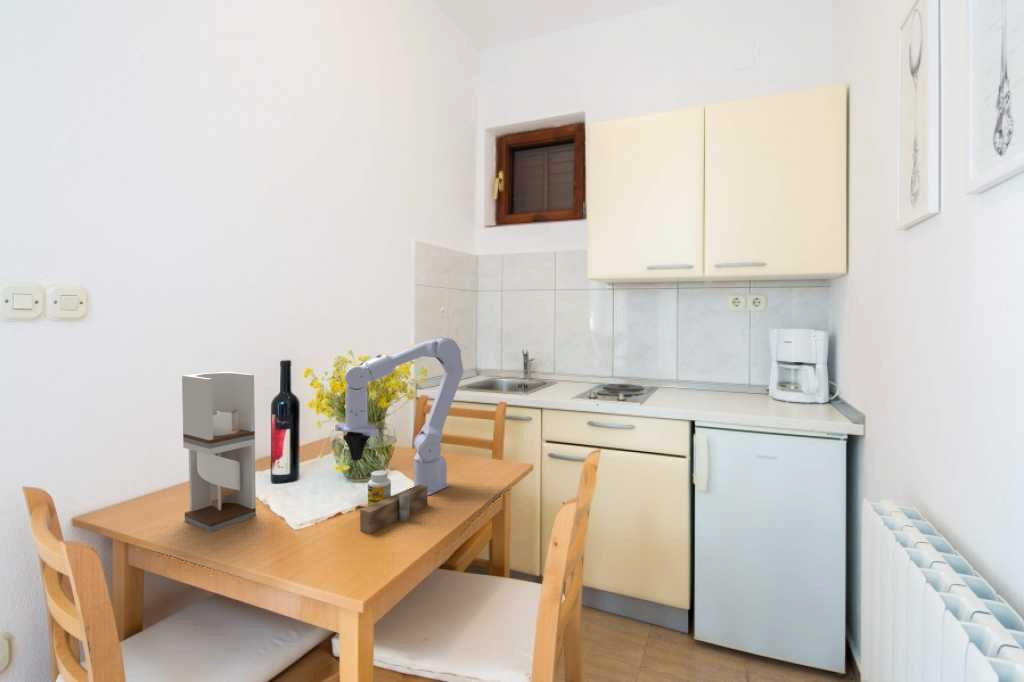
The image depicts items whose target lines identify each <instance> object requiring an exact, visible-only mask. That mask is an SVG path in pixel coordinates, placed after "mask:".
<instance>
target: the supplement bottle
mask: <svg viewBox="0 0 1024 682" xmlns="http://www.w3.org/2000/svg"><path fill="white" fill-rule="evenodd" d="M391 487H392V481H391V479H390V478H388V471H387V470H383V469H381V470H373V471H372V472H371V473H370V479H369V480H368V482H367V506H370V505H372V504H374V503H377V502H379V501H381V500H384V499H386V498H388V497H391V496H392V495H391V494H392V491H391V490H392V489H391Z"/></svg>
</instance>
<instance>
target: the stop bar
mask: <svg viewBox="0 0 1024 682" xmlns="http://www.w3.org/2000/svg"><path fill="white" fill-rule="evenodd" d="M413 486H414V485H413ZM411 487H412V486H411ZM408 488H409V489H408ZM408 488H407V489H404V490H401V492H398V493H395V494H393V495H391V497H388V498H386V499H384V500H381V501H379V502H377V503H374V504H372V505H370V506H368V505H367V506H366V507H363V508H361V509H359V513H360V514H359V516H360V518H359V520H360V521H359V524H360V525H359V526H360V528H359V529H360V532H363V533H365V534H369V535H370V534H372V533H374V532H377V531H379V530H381V529H382V528H384V527H386V526H389V525H390V524H392V523H395V522H398V520H399V522H403V523H404V522H409V521H410V515H411V514H412V513H414V512H416V511H418V510H421V509H423V508H425V507H427V506H428V496H429V495H428V486H424V485H420V484H419V485H416V486H414V487H412V488H410V487H408Z"/></svg>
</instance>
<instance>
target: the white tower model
mask: <svg viewBox="0 0 1024 682" xmlns="http://www.w3.org/2000/svg"><path fill="white" fill-rule="evenodd" d="M181 387H182V388H181V390H182V391H181V392H182V393H181V395H182V398H181V399H182V435H183V436H182V444H183V445H182V447H183V448H184V449H187V450H188V476H189V477H188V479H189V480H188V481H189V482H188V483H189V485H188V486H189V510H188V511H184V522H187V523H188V524H191V525H193V526H195V527H198V528H200V529H203V530H205V531H207V532H209V533H212V532H215V531H217V530H220V529H222V528H226V527H228V526H233V524H237V523H239V522H240V523H241V522H242V521H245V520H247V519H252V518H254V517H256V516H257V502H256V500H257V499H256V495H257V494H256V443H255V442H256V431H255V428H256V426H255V425H256V422H255V421H256V420H255V418H256V417H255V409H256V408H255V374H250V373H242V372H234V371H220V372H208V373H198V374H197V373H195V374H186V375H182V376H181Z"/></svg>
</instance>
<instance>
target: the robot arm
mask: <svg viewBox="0 0 1024 682" xmlns="http://www.w3.org/2000/svg"><path fill="white" fill-rule="evenodd" d="M461 353H462V350H461V348H460V346H459V345H458V343H457V342H456V341H455V340H454V339H452V338H449V337H446V338H445V337H444V336H438V337H436V338H434V339H429V340H425V341H422V342H420V343H417V344H415V345H413V346H411V347H408V348H407V349H405V350H403V351H400V352H397V353H395V354H394V355H389V354H385V353H384V354H381V353H378V354H376V355H375V358H372V359H369V360H367V361H365V362H364V361H360V362H359V366H358V365H353V366H351V367H349V368H347V370H346V372H345V374H344V380H345V382H346V387H345V392H346V393H345V394H344V395H345V404H344V405H345V406H344V407H345V423H344V422H338V423H335V431H336V432H345V433H346V434H344V435H343V436H342V437H343V438H342V439H344V441H345V443H346V445H347V448H348V450H349V453H350V457H351V460H352V461H355V462H357V461H360V460H362V457H363V455H364V450H365V447H366V444H367V442H368V440H369V439H370V438H374V439H375V438H376V437H379V436H380V435H379V433H380V431H379V430H380V429H379V428H376V427H372V426H371V425H369V424H368V419H369V418H368V417H369V416H368V393H367V385H368V383H369V382H370V383H372V382H375V381H377V380H379V379H382V378H384V377H387V376H388V375H392V374H394V372H395V370H396V367H399V366H401V365H403V364H407V363H409V362H411V361H414V360H416V359H420V358H422V357H428V358H434V359H436V360H438V362H439V363H440V365H441V368H442V369H443V371H444V374H443V376H442V377H441V378H442V379H441V381H440V383H439V386H438V389H437V393H436V395H435V397H434V400H433V403H432V405H431V408H430V411H429V414H428V416H427V420H426V422H425V423H424V424H423V426H422V427H421V428H420V429H421V430H420V431H419V433H418V434H417V435H416V436H415V437H414V439H413V444H412V445H413V448H414V450H415V451H416V453H415V455H414V456H413V486H416V485H419V484H420V485H424V486H428V496H430V495H432V494H434V493H436V492H438V491H440V490H442V489H445V488H447V487H449V486H450V484H449V483H447V477H448V474H447V472H448V469H447V467H448V466H447V464H448V463H447V461H446V458H444V456H443V455H441V452H442V447H441V443H442V439H443V429H444V425H445V423H446V421H447V418H448V415H449V412H450V409H451V407H452V404H453V402H454V398H455V396H456V393H457V390H458V388H459V385H460V382H461V379H462V377H463V374H464V366H463V360H462V354H461Z"/></svg>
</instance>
